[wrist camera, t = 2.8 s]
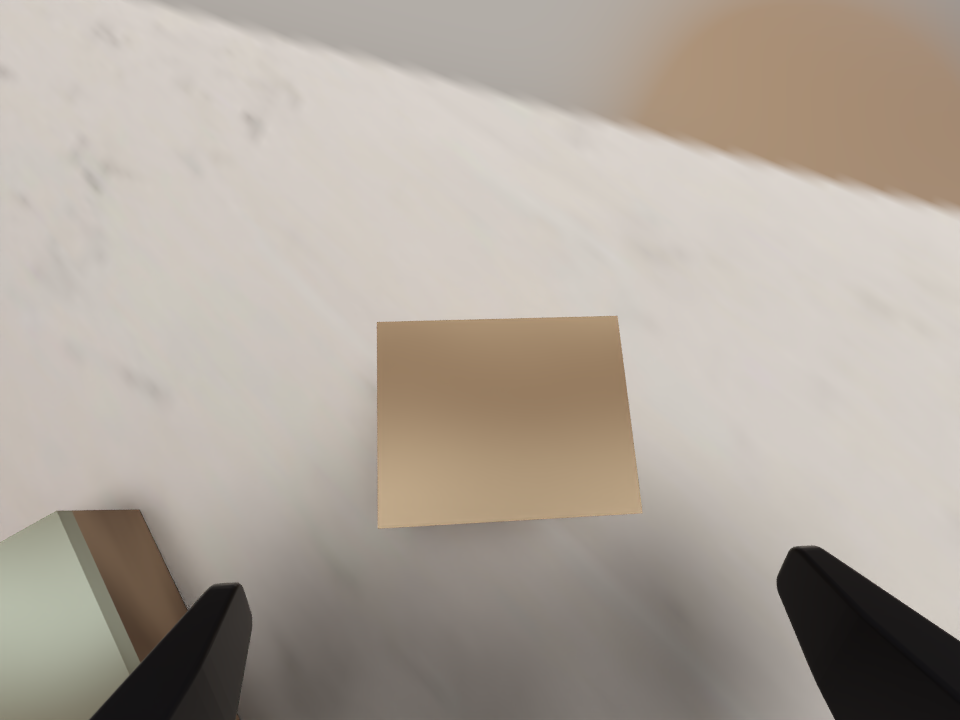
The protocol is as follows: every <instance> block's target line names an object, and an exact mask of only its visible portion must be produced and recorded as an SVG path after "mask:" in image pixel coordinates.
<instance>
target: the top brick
mask: <svg viewBox="0 0 960 720" xmlns="http://www.w3.org/2000/svg"><path fill="white" fill-rule="evenodd" d="M377 452H378V529H381V528H398V527H415V526H432V525H449V524H467V523H484V522H501V521H518V520H535V519H552V518H569V517H586V516H603V515H621V514H638V513H642V505H641V498H640V490H639V482H638V474H637V466H636V458H635V450H634V443H633V435H632V427H631V419H630V411H629V403H628V396H627V388H626V380H625V372H624V364H623V356H622V349H621V341H620V333H619V325H618V317H617V316H596V317H557V318H518V319H479V320H440V321H401V322H377Z"/></svg>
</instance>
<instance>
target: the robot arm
mask: <svg viewBox="0 0 960 720" xmlns="http://www.w3.org/2000/svg"><path fill="white" fill-rule="evenodd" d="M777 589H778V593H779V595H780V598H781V600H782V603H783V605H784V607H785V610H786V612H787V615H788V617H789V619H790V622H791V624H792V627H793V629H794V631H795V634H796V636H797V639H798V641H799V643H800V646H801V648H802V651H803V653H804V656H805V658H806V660H807V663H808V665H809V668H810V670H811V672H812V674H813V677H814V679H815V681H816V683H817V685H818V687H819V689H820V691H821V693H822V695H823V697H824V699H825V701H826V703H827V705H828V707H829V709H830V711H831V713H832V715H833V717H834V719H835V720H960V641H959V640H957V639H956V638H954V637H953V636H952V635H950V634H949V633H947V632H946V631H944V630H943V629H941V628H940V627H938V626H937V625H935V624H934V623H932V622H931V621H929V620H928V619H926V618H925V617H923V616H922V615H920V614H919V613H917V612H916V611H914V610H913V609H911V608H910V607H908V606H907V605H905V604H904V603H902V602H901V601H900V600H898V599H897V598H895V597H894V596H892V595H891V594H889V593H888V592H886V591H885V590H883V589H882V588H880V587H879V586H877V585H876V584H874V583H873V582H871V581H870V580H868V579H867V578H865V577H864V576H862V575H861V574H859V573H858V572H856V571H855V570H853V569H852V568H851V567H849V566H848V565H846V564H845V563H843V562H842V561H840V560H839V559H837V558H836V557H834V556H833V555H831V554H830V553H828V552H827V551H825V550H824V549H822V548H820V547H818V546H812V545H811V546H796V547H793V548H791V549H790V550H789V552H788V554H787V556H786V558H785V560H784V563H783V565H782V567H781V569H780V571H779V574H778V576H777ZM251 631H252V614H251V611H250V608H249V604H248V601H247V598H246V595H245V592H244V589H243V587H242V585H241V584H240V583H236V582H235V583H220V584H214V585H212V586H211V587H209V588H208V589H207V590H206V591H205V592H204V594H203V595H202V596H201V597H200V598H199V599H198V600H197V601H196V602H195V603H194V605H193V606H192V607H191V608H190V609H189V610H188V611H187V612H186V613H185V614H184V616H183V617H182V618H181V619H180V620H179V621H178V622H177V623H176V624H175V625H174V627H173V628H172V629H171V630H170V631H169V632H168V633H167V634H166V635H165V636H164V638H163V639H162V640H161V641H160V642H159V643H158V644H157V645H156V646H155V647H154V649H153V650H152V651H151V652H150V653H149V654H148V655H147V656H146V657H145V658H144V660H143V661H142V662H141V663H140V664H139V665H138V666H137V667H136V668H135V669H134V671H133V672H132V673H131V674H130V675H129V676H128V677H127V678H126V679H125V680H124V682H123V683H122V684H121V685H120V686H119V687H118V688H117V689H116V690H115V691H114V693H113V694H112V695H111V696H110V697H109V698H108V699H107V700H106V701H105V702H104V704H103V705H102V706H101V707H100V708H99V709H98V710H97V711H96V712H95V713H94V715H93V716H92V717H91V718H90V719H89V720H236V714H237V709H238V703H239V698H240V692H241V687H242V681H243V675H244V670H245V664H246V659H247V653H248V648H249V642H250V636H251Z"/></svg>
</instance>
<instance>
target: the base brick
mask: <svg viewBox="0 0 960 720" xmlns="http://www.w3.org/2000/svg"><path fill="white" fill-rule="evenodd" d="M186 612H187V609H186V607H185V605H184V602H183V600H182V598H181V596H180V594H179V592H178V590H177V588H176V586H175V584H174V582H173V579H172V577H171V575H170V573H169V571H168V569H167V567H166V565H165V563H164V561H163V559H162V556H161V554H160V552H159V550H158V548H157V546H156V544H155V542H154V540H153V538H152V536H151V533H150V531H149V529H148V527H147V525H146V523H145V521H144V519H143V517H142V515H141V513H140V511H139V510H84V511H55V512H54V513H52V514H50V515H48V516H46V517H45V518H43V519H41V520H39V521H37V522H36V523H34V524H32V525H30V526H29V527H27V528H25V529H23V530H21V531H20V532H18V533H16V534H14V535H12V536H11V537H9V538H7V539H5V540H3V541H2V542H0V720H89V719H90V718H91V717H92V716H93V715H94V713H95V712H96V711H97V710H98V709H99V708H100V707H101V706H102V705H103V704H104V702H105V701H106V700H107V699H108V698H109V697H110V696H111V695H112V694H113V693H114V691H115V690H116V689H117V688H118V687H119V686H120V685H121V684H122V683H123V682H124V680H125V679H126V678H127V677H128V676H129V675H130V674H131V673H132V672H133V671H134V669H135V668H136V667H137V666H138V665H139V664H140V663H141V662H142V661H143V660H144V658H145V657H146V656H147V655H148V654H149V653H150V652H151V651H152V650H153V649H154V647H155V646H156V645H157V644H158V643H159V642H160V641H161V640H162V639H163V638H164V636H165V635H166V634H167V633H168V632H169V631H170V630H171V629H172V628H173V627H174V625H175V624H176V623H177V622H178V621H179V620H180V619H181V618H182V617H183V616H184V614H185V613H186ZM236 720H240V719H239V717H238V715H237V714H236Z"/></svg>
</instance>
